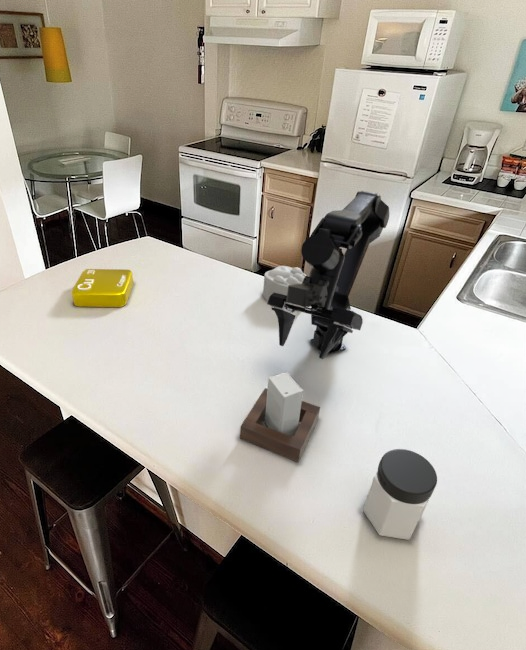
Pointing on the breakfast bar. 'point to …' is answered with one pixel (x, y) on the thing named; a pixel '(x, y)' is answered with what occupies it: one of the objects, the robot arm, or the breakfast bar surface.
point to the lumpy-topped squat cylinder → (281, 280)
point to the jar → (400, 493)
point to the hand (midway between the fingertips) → (300, 352)
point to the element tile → (103, 288)
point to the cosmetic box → (283, 404)
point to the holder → (277, 440)
